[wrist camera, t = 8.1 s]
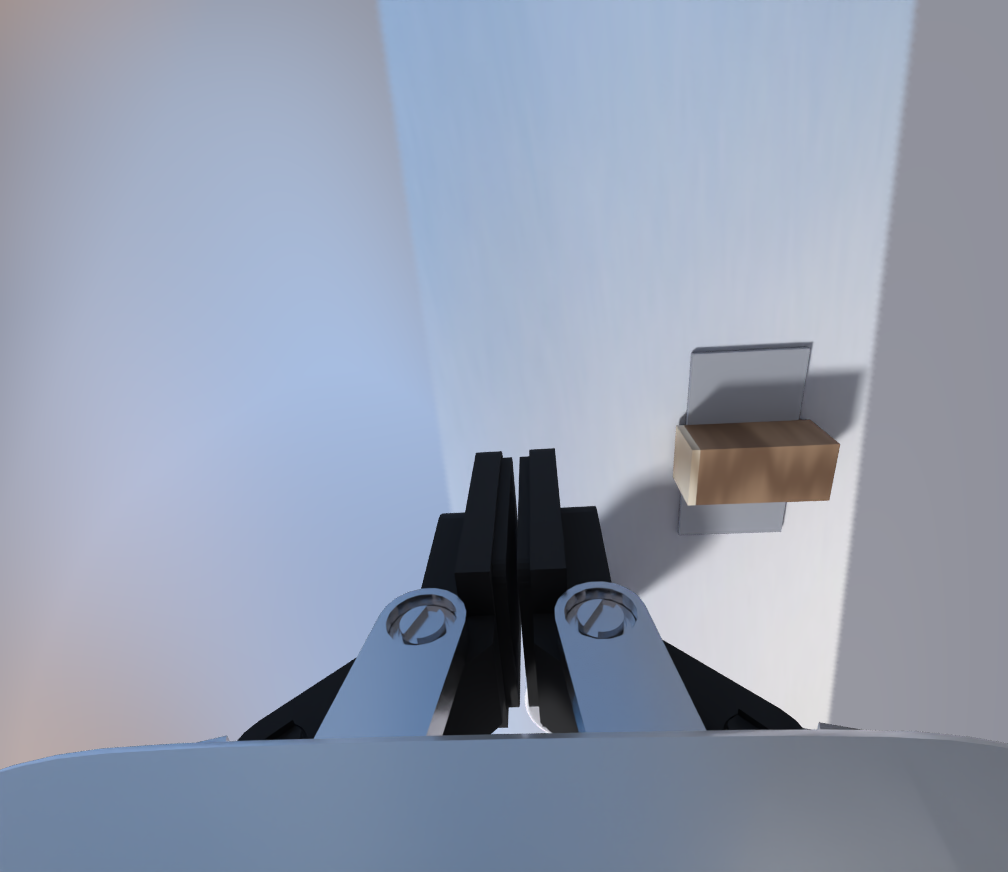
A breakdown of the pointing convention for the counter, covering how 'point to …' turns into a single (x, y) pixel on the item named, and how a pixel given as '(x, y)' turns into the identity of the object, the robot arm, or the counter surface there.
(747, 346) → the counter surface
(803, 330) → the counter surface
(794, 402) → the mat
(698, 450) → the block
